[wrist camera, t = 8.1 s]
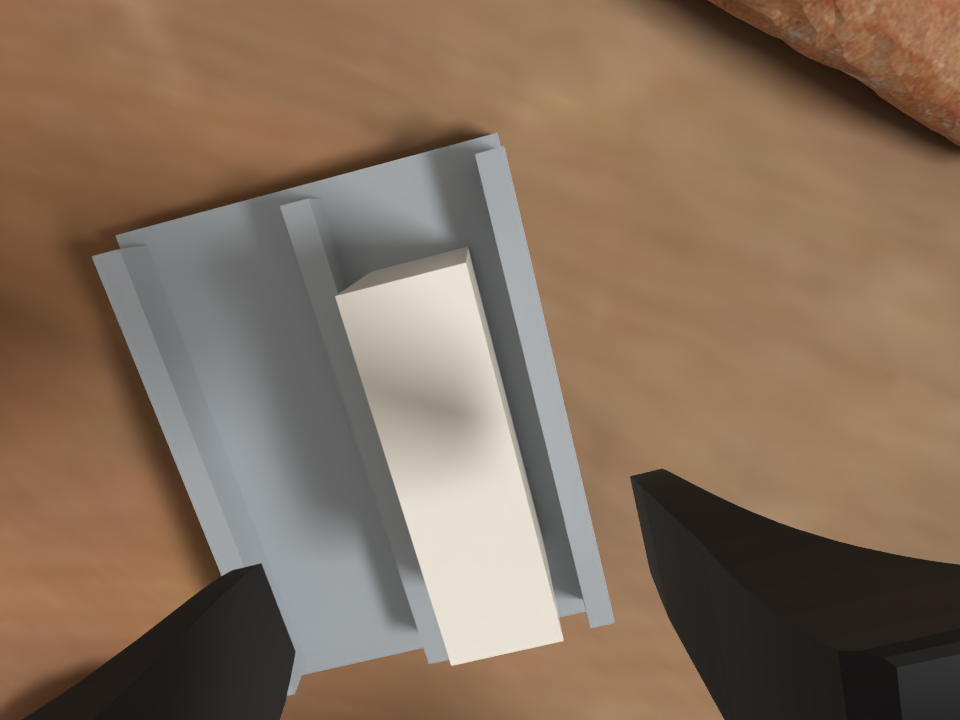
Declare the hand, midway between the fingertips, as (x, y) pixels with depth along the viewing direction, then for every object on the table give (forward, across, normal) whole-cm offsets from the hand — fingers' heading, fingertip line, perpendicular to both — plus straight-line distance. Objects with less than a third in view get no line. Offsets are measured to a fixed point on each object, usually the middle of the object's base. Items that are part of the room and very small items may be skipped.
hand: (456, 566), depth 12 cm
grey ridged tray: (+9, +3, 0) cm, 10 cm away
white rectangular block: (+8, 0, 0) cm, 8 cm away
